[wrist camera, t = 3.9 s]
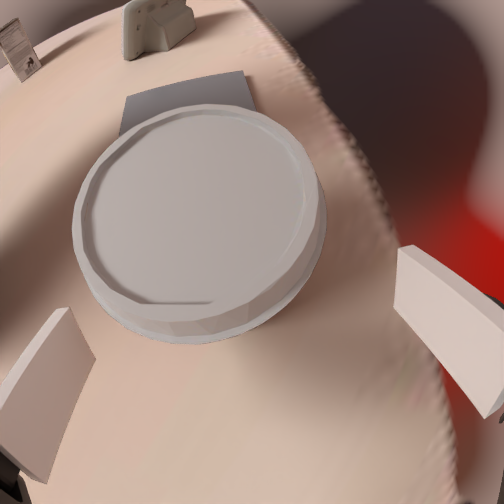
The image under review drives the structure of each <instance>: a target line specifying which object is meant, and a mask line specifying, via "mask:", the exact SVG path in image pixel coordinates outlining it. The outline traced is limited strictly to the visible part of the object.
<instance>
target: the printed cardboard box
mask: <svg viewBox="0 0 504 504" xmlns="http://www.w3.org/2000/svg"><path fill="white" fill-rule="evenodd" d="M0 49H1V51H2V52H3V54H4V56H5V58H6V60H7V61H8V63H9V65H10V66H11V68H12V70H13V71H14V73H15V74H16V76H17V77H18V78H19V80H20V81H21V82H23V81H24V80H26V79H27V78H28V77H29V76H30V75H32V74H33V73H34V72H35V71H37V70H38V69H39V68H41V67H42V65H41V63H40V61H39V59H38V57H37V55H36V53H35V51H34V49H33V47H32V45H31V43H30V41H29V39H28V37H27V35H26V33H25V31H24V29H23V27H22V25H21V23H20V20H19V18H15V19H13V20H11V21H10V22H9V23H7V24H6V25H4V26H3V27H2V28H0Z"/></svg>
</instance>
